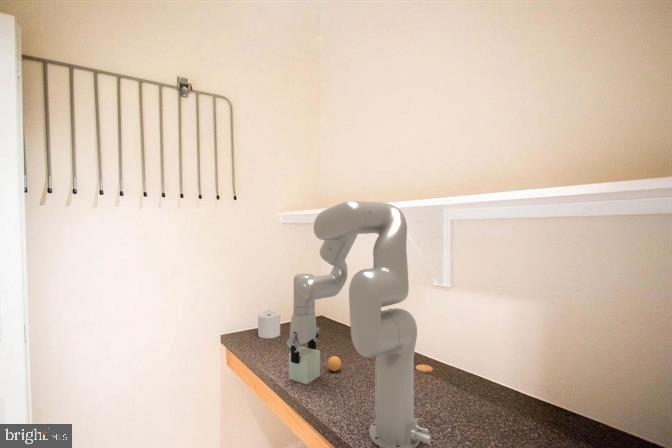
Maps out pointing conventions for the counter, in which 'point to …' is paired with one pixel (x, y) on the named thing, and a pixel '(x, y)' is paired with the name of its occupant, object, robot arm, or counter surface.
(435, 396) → the counter surface
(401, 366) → the robot arm
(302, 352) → the pale sage cube
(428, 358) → the counter surface
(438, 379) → the counter surface
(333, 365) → the ball
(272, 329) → the toilet tissue
